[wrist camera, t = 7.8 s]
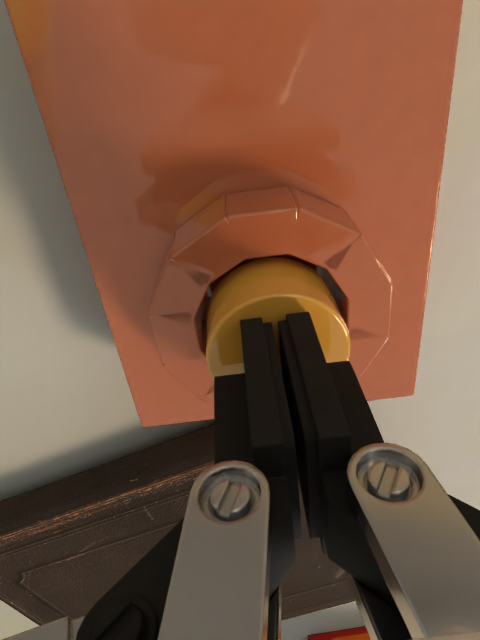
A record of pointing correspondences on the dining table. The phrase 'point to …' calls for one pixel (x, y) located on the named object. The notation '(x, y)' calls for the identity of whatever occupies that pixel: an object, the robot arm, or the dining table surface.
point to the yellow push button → (270, 310)
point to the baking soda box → (343, 635)
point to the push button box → (246, 165)
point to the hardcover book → (126, 534)
